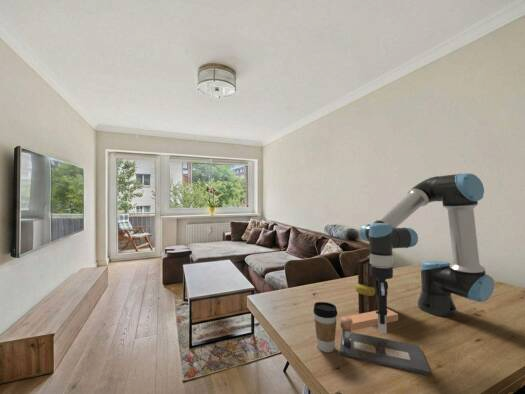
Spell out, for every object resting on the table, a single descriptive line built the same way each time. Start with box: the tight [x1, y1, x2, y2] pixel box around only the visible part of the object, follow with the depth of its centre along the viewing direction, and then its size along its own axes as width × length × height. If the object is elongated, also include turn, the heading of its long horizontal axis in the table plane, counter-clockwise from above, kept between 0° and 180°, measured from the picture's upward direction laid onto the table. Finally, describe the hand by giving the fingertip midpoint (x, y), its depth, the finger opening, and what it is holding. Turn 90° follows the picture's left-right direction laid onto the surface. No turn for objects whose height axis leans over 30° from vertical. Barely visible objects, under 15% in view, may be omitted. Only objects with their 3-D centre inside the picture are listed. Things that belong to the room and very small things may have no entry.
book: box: [355, 256, 378, 314], centre depth 112 cm, size 22×8×25 cm, turn 134°
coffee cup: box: [313, 301, 338, 353], centre depth 84 cm, size 8×8×15 cm
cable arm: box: [339, 308, 399, 332], centre depth 87 cm, size 24×5×3 cm, turn 109°
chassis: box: [339, 328, 431, 377], centre depth 81 cm, size 26×14×7 cm, turn 67°
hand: (382, 331), depth 84 cm, fingers closed
